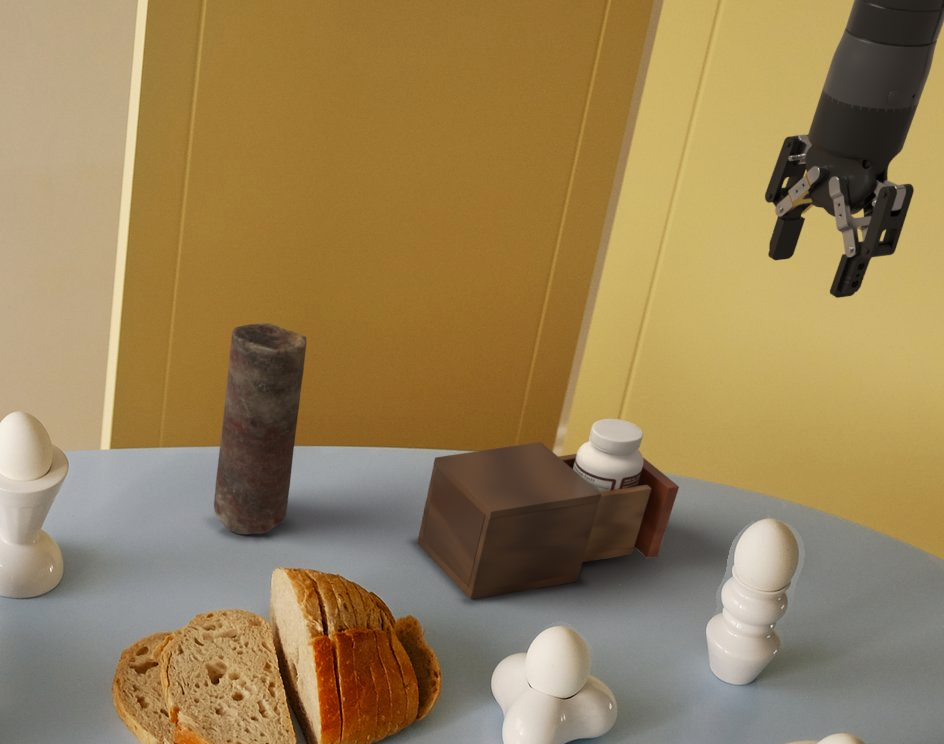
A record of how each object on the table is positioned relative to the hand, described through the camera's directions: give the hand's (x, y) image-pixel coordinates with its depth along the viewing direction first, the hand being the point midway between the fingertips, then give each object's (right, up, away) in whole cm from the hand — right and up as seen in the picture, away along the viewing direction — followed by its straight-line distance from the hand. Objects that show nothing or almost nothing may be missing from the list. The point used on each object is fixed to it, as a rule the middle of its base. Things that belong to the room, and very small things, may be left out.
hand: (809, 276), depth 157 cm
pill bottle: (-14, -20, +16) cm, 30 cm away
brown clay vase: (-47, -18, +22) cm, 55 cm away
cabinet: (-23, -24, +15) cm, 36 cm away
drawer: (-13, -21, +17) cm, 30 cm away
